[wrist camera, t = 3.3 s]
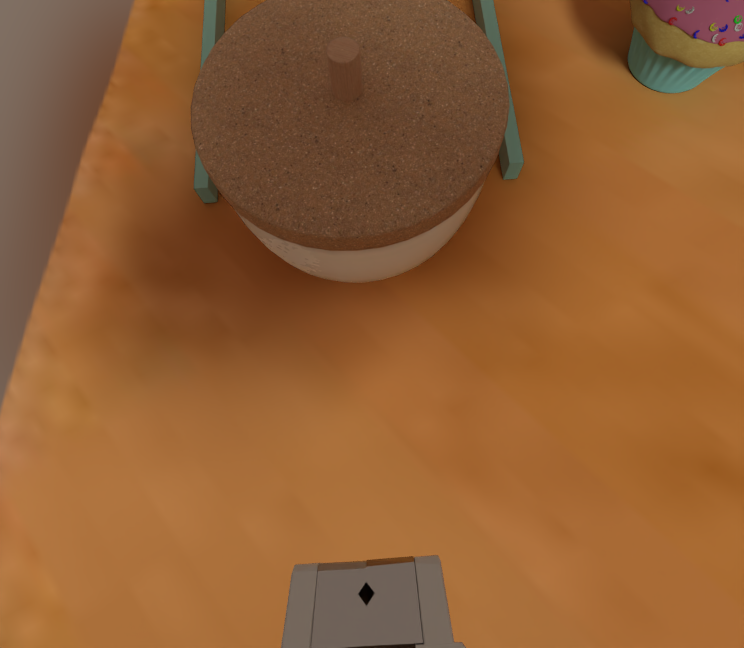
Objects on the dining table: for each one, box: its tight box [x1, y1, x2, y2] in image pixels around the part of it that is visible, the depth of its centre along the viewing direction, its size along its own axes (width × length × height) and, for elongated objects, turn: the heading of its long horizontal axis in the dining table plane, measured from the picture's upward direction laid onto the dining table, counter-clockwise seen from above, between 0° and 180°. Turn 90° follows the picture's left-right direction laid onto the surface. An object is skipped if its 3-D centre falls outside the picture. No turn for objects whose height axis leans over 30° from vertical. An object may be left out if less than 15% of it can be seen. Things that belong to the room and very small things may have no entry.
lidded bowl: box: [191, 0, 510, 283], centre depth 21 cm, size 13×13×11 cm
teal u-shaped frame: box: [194, 0, 524, 203], centre depth 29 cm, size 18×19×2 cm
